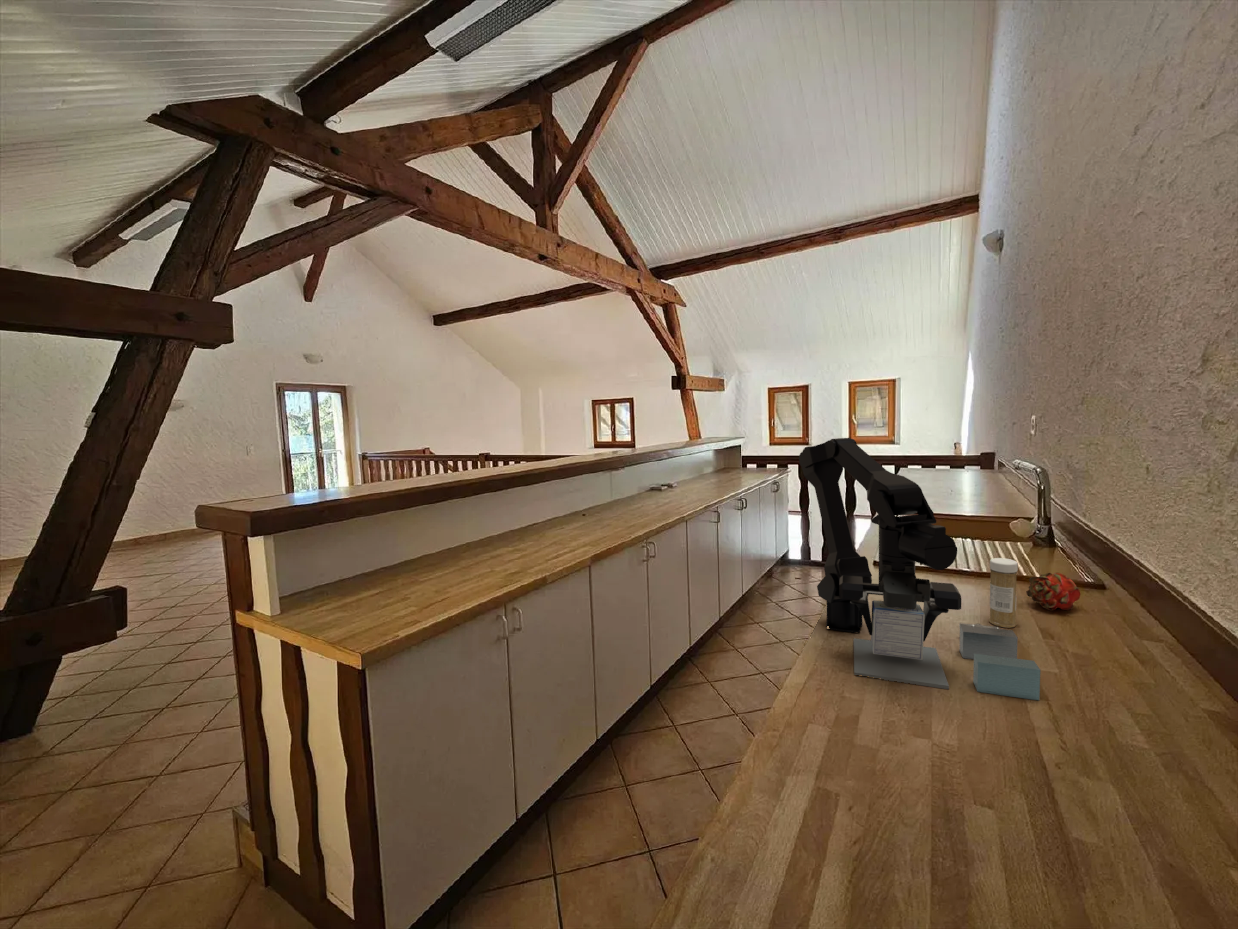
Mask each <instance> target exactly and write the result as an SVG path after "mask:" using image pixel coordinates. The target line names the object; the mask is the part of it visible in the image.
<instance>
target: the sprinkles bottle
mask: <svg viewBox="0 0 1238 929" xmlns="http://www.w3.org/2000/svg"><path fill="white" fill-rule="evenodd" d="M1018 566H1019V565H1018V562H1017V561H1016V560H1014V559H1010V558H1006V557H1005V558H1004V557H995V558H993V557H992V558H991V559H990V560H989V570H990V582H989V619H988V621H989V623H990V624H992V625H993V626H995V627H999V628H1007V629H1008V628H1011V629H1012V628H1014V627H1016V626H1017V622H1016V616H1017V613H1016V612H1017V573H1018V568H1019V567H1018Z"/></svg>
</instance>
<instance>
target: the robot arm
mask: <svg viewBox="0 0 1238 929" xmlns="http://www.w3.org/2000/svg"><path fill="white" fill-rule="evenodd" d="M798 455H799V456H798V463H799V465H800V467H801V469H802V473H803V477H804V478H805V479H806V480H807V481H808V482H809V483H810V484H811V485H812V486H813V487H814V490H815V495H816V501H817V504H818V509H819V513H820V518H821V524H822V528H823V532H824V535H825V536H824V537H825V540H826V541H825V542H826V544H827V545H826V546H827V550H828V555H827V558H826V561H825V564H824V567H823V568H824V569H823V570H824V577H823V578H822V580H821V581H820V582H819V583H818V584H817V585H816V588H817V589H816V590H817V594H818V597H820V598H822V599H823V600H824V601H826V622H825V628H826V627H827V626H829V628H830V629H832V630H831V631H837V630H838V631H839V632H848V633H854V632H860V633H861V628H862V627H863V620H864V622H865V626H866V629H867V631H868V635H869V636H871V635H872V623H871V622H872V615H871V610H870V603H869V595H879V596H882V598H883V600H882V601H884V605H885V606H887V607H890V608H894V607H899V608H906V609H910V610H912V609H915V608H916V605H917V604H918V603H923V607H922V608H923V609H922V611H923V613H924V614H925V619H924V639H923V643H925V642H926V639H927V637H928V635H929V633H930V630H931V628H932V626H933V625H934V624H933V623H934V622H935V621H936V619H937V618H938V617H939V616H940V615H941V614H948V613H949V611H950V610H954V611H961V610H962V594H961V593H960V592H959V589H958V588H957V586H956V585H955V584H953V583H948V582H935V581H930V579H928V578H927V579H926V578H918V577H917V576H916V563H918V564H920V565H922V566H923V565H924V566H926V567H928V568H931V569H934V570H936V571H937V570H938V571H943V570H946V569H948V568H949V567H951V566H952V564H953V563H954V562H955V561H956V559H957V558H956V557H957V555H958V547H957V545H956V542H955V541H954V539H953V538H952V537H951V536H949V534H947V533H946V532H947V528H946V526H943V525H934V524H937V519H936V517H935V513H934V510H933V509H932V508H931V507H930V505H929V503H928V500H927V498H926V497H925V494H924V493H923V490H922V487H921V486H919V484H917V482H915V481H913V480H912V479H909V478H907V477H906V476H903V475H900V474H897V473H896V474H895V473H894V472H891V471H889V470H887V469H885V467H883V466H882V464H880V463H879V462H877V461H876V460H875V459H874V458H873V457H872V456H871V455H870V454H868V453H867V452H866V451H865V450H863V449H862V448H861V447H860V446H859V445H858V444H857V441H856V440H855V438H854V439H853V438H851V437H841V438H831V439H829V440H826V441H825V442H822V443H820V444H816V445H813V446H812V445H809V446H805V447H803V450H802V451H801V452H800V453H799V454H798ZM844 470H845V471H847V473H849V475H851V476H852V477H853V479H854V480H856V482H858V483H859V484H860V485H861V487H863V488H864V489H865V491H866V500H867V502H868V503H869V504H870V505H871V507H872V508H873V510H874V511H875V512H876V514H877V515H876V516H874V517H873V518H872V519H871V521H870V522H871V523H873V524H875V525H877V526H878V583H873V579H872V577H873V575H872V573H871V570H870V567H869V566H870V565H869V560H868V558H867V557H866V556H865V555H863V556H861V555H860V554H859V553H858V551H856V550H855V548H854V543H853V539H852V536H851V530H850V526H849V522H848V518H847V513H846V510H845V504H844V502H843V497H842V493H841V488H840V483H839V482H840V479H841V477H842V474H843V472H844Z"/></svg>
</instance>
